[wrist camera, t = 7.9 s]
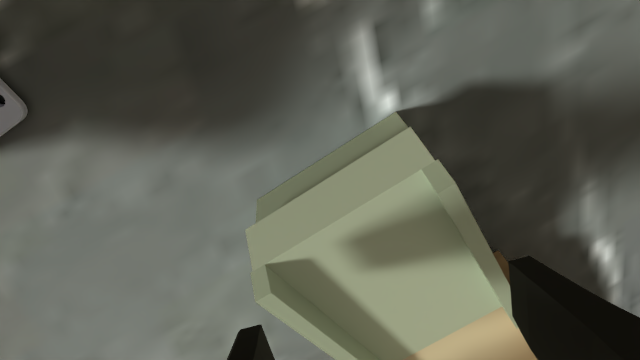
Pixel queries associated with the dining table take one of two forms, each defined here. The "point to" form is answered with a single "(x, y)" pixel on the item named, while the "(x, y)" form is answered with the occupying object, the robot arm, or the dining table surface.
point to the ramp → (373, 250)
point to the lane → (482, 337)
